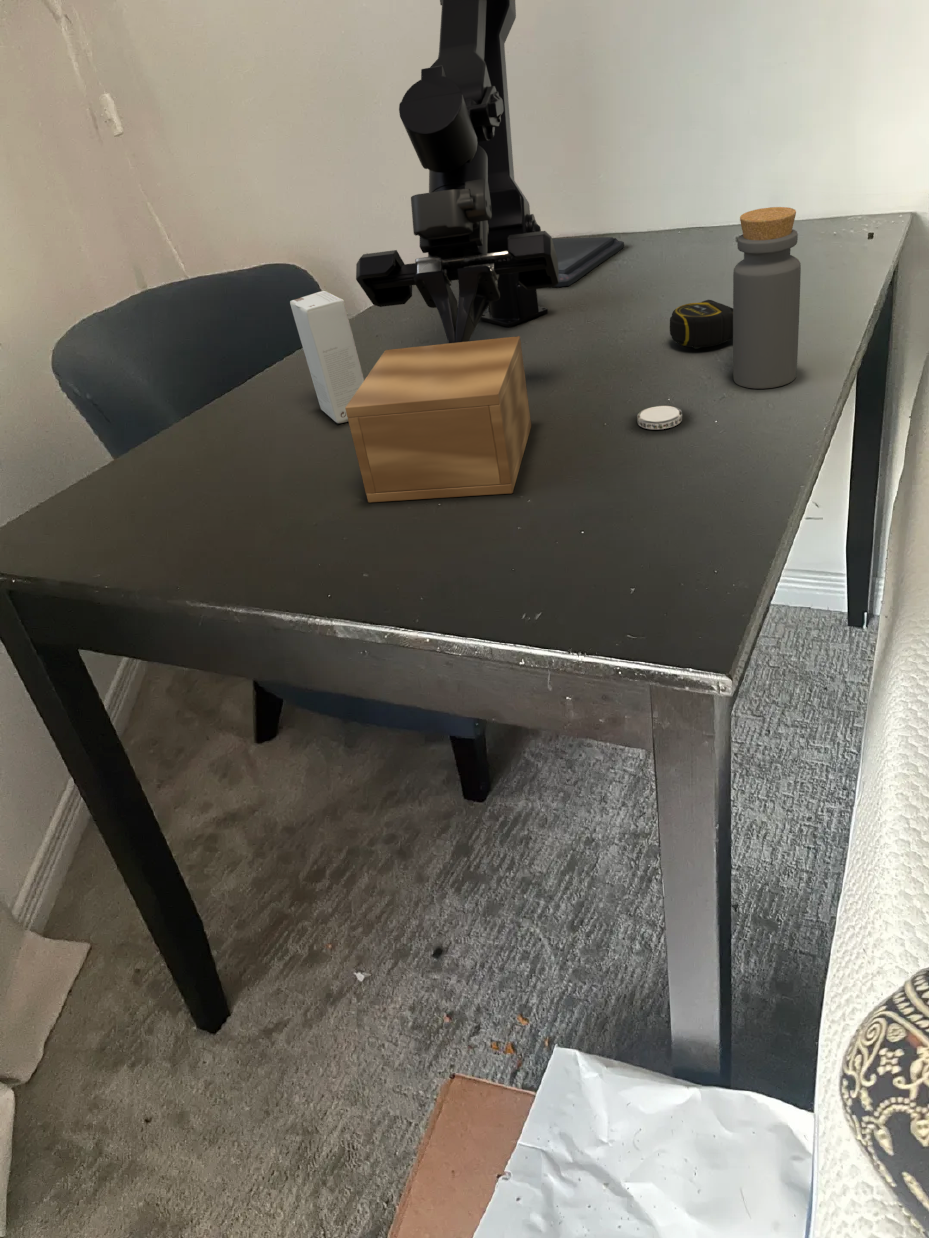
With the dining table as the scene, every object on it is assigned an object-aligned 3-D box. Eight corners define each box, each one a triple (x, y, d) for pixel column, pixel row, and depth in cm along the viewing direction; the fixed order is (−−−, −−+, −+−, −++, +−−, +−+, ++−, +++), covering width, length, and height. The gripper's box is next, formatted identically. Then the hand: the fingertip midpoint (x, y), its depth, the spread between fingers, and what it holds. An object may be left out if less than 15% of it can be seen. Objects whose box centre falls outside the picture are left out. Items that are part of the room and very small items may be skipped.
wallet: (565, 273, 126) (471, 273, 134) (566, 288, 127) (473, 287, 135) (629, 232, 139) (539, 234, 147) (630, 246, 140) (541, 247, 148)
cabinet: (403, 437, 93) (385, 350, 88) (531, 426, 90) (520, 336, 85) (367, 503, 82) (344, 407, 77) (512, 493, 79) (498, 394, 74)
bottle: (725, 373, 93) (724, 213, 85) (783, 362, 93) (788, 201, 85) (744, 393, 88) (745, 226, 80) (806, 382, 88) (814, 213, 80)
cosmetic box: (374, 413, 99) (348, 298, 93) (335, 426, 98) (305, 310, 91) (354, 398, 104) (328, 287, 97) (316, 410, 103) (287, 299, 96)
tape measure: (748, 343, 99) (749, 307, 97) (690, 359, 98) (689, 323, 96) (714, 328, 104) (714, 294, 102) (659, 343, 103) (657, 308, 101)
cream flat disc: (635, 430, 85) (634, 423, 85) (640, 412, 88) (639, 406, 88) (680, 428, 84) (680, 421, 83) (683, 410, 87) (683, 404, 87)
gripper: (337, 164, 85) (332, 325, 83) (540, 133, 81) (542, 302, 79) (376, 232, 96) (373, 376, 94) (558, 207, 92) (560, 358, 89)
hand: (457, 354), depth 88 cm, fingers closed, pressing on drawer
